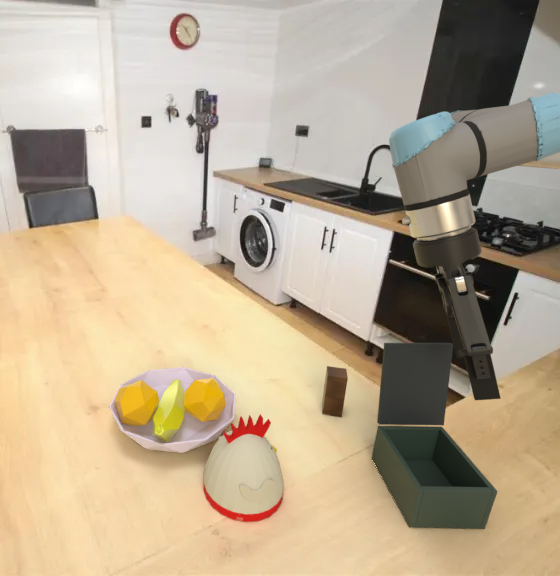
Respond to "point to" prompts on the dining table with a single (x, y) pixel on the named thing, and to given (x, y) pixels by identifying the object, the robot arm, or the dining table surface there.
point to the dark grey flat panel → (414, 383)
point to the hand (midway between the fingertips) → (476, 375)
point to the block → (334, 391)
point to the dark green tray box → (432, 478)
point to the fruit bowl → (173, 409)
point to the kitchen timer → (244, 473)
